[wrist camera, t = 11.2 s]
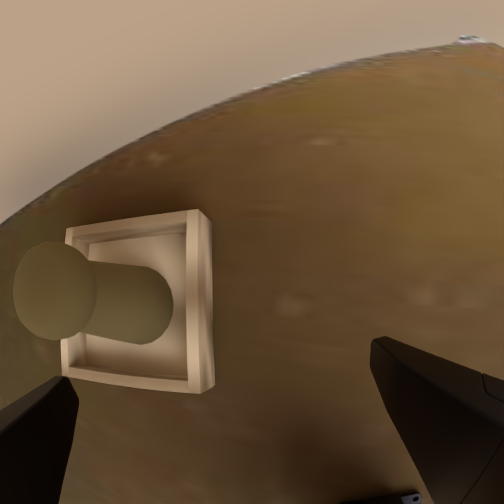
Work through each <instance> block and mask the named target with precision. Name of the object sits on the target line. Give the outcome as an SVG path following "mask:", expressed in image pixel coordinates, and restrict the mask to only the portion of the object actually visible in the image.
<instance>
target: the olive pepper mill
mask: <svg viewBox="0 0 504 504" xmlns="http://www.w3.org/2000/svg"><path fill="white" fill-rule="evenodd" d="M13 299H14V305H15V309H16V313H17V315H18V317H19V319H20V320H21V322H22V324H23V325H24V326H25V327H26V328H27V329H28V330H30V331H31V332H32V333H33V334H34V335H36V336H39V337H41V338H45V339H48V340H62V339H66V338H70V337H72V336H75V335H76V334H77V333H79V332H81V333H85V334H89V335H94V336H98V337H103V338H108V339H112V340H117V341H122V342H127V343H132V344H138V345H143V344H148V343H152V342H153V341H155V340H156V339H158V338H159V337H161V336H162V335H163V333H164V332H165V331H166V329H167V328H168V326H169V324H170V321H171V318H172V316H173V305H174V301H173V296H172V292H171V289H170V287H169V285H168V283H167V281H166V279H165V278H164V277H163V276H162V275H161V274H160V273H159V272H158V271H156V270H153V269H151V268H149V267H144V266H134V265H125V264H116V263H107V262H98V261H90V260H87V258H86V257H85V256H84V255H83V254H82V253H81V252H80V251H79V250H78V249H76V248H74V247H72V246H70V245H68V244H66V243H63V242H43V243H41V244H39V245H37V246H35V247H33V248H31V249H30V250H29V251H28V252H27V253H26V254H25V255H24V256H23V258H22V260H21V261H20V263H19V265H18V267H17V271H16V274H15V277H14V285H13Z"/></svg>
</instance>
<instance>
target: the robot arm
mask: <svg viewBox="0 0 504 504" xmlns="http://www.w3.org/2000/svg"><path fill="white" fill-rule="evenodd" d="M370 368H371V372H372V374H373V377H374V379H375V382H376V384H377V387H378V389H379V392H380V394H381V397H382V400H383V402H384V405H385V407H386V410H387V412H388V414H389V416H390V418H391V420H392V422H393V423H394V425H395V427H396V429H397V431H398V433H399V435H400V437H401V439H402V441H403V442H404V444H405V446H406V448H407V450H408V452H409V454H410V456H411V458H412V460H413V462H414V464H415V466H416V468H417V470H418V472H419V474H420V476H421V478H422V480H423V482H424V484H425V486H426V488H427V490H428V492H429V494H430V496H431V498H432V500H433V502H434V504H504V380H501V379H498V378H495V377H492V376H489V375H487V374H484V373H482V374H481V372H478V371H476V370H473V369H470V368H468V367H465V366H462V365H459V364H457V363H454V362H451V361H449V360H446V359H444V358H441V357H438V356H436V355H433V354H430V353H428V352H425V351H423V350H420V349H417V348H415V347H412V346H410V345H407V344H404V343H402V342H399V341H397V340H394V339H392V338H389V337H386V336H383V337H379V338H376V339H373V340H372V342H371V352H370ZM78 407H79V398H78V396H77V394H76V392H75V390H74V388H73V386H72V384H71V382H70V380H69V379H68V378H67V377H66V376H56V377H54V378H52V379H50V380H49V381H47V382H45V383H44V384H42V385H41V386H39V387H37V388H36V389H34V390H33V391H31V392H29V393H28V394H26V395H25V396H23V397H21V398H20V399H18V400H16V401H15V402H13V403H12V404H10V405H8V406H7V407H5V408H4V409H2V410H0V504H58V503H59V498H60V494H61V489H62V484H63V480H64V475H65V471H66V467H67V463H68V459H69V455H70V451H71V447H72V442H73V437H74V430H75V424H76V418H77V413H78ZM416 496H417V498H416V499H413V498H414V497H416ZM421 500H422V496H421V494H420V493H419V492H412V493H407V494H401V495H398V494H396V495H390V496H384V497H377V498H369V499H366V500H360V501H349V502H342V503H340V504H421Z"/></svg>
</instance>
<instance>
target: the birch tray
mask: <svg viewBox="0 0 504 504" xmlns="http://www.w3.org/2000/svg"><path fill="white" fill-rule="evenodd" d="M65 243H66V244H68V245H70V246H72V247H74V248H76V249H78V250H79V251H80V252H81V253H82V254H83V255H84V256H85V257H86V258H87V260H90V261H98V262H107V263H116V264H125V265H134V266H144V267H149V268H151V269H153V270H156V271H158V272H159V273H160V274H161V275H162V276H163V277H164V278H165V279H166V281H167V283H168V285H169V287H170V289H171V292H172V296H173V301H174V305H173V316H172V318H171V321H170V324H169V326H168V328H167V329H166V331H165V332H164V333H163V335H162V336H161V337H159V338H158V339H156V340H155V341H153V342H152V343H148V344H143V345H138V344H132V343H127V342H122V341H117V340H112V339H108V338H103V337H98V336H94V335H89V334H85V333H81V332H79V333H77V334H76V335H75V336H72V337H70V338H66V339H62V340H61V361H62V375H63V376H68V377H73V378H78V379H84V380H89V381H95V382H101V383H107V384H113V385H120V386H127V387H135V388H143V389H151V390H161V391H171V392H183V393H197V394H201V393H203V392H205V391H207V390H208V389H210V388H212V387H214V386H215V369H214V339H213V294H212V222H211V221H210V220H209V219H208V218H207V217H206V216H205V215H204V214H203V213H202V212H201V211H200V210H199V209H194V210H186V211H178V212H171V213H163V214H156V215H149V216H142V217H135V218H128V219H121V220H115V221H108V222H102V223H96V224H89V225H83V226H77V227H72V228H67V230H66V238H65Z"/></svg>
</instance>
